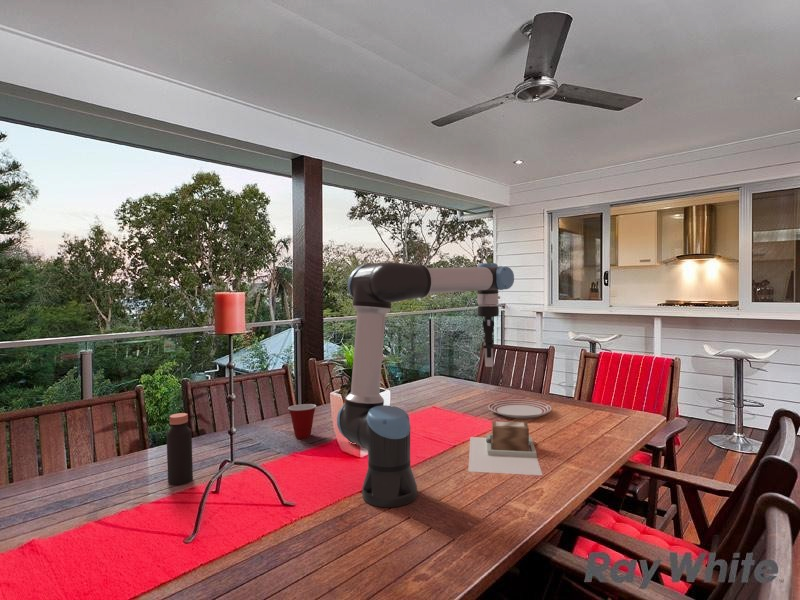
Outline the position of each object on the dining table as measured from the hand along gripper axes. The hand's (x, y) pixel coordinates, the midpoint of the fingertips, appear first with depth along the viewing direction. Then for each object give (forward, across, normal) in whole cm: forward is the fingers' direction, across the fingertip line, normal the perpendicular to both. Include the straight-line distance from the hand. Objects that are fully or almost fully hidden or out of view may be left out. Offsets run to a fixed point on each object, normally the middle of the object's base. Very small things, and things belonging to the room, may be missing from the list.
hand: (488, 363), depth 167 cm
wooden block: (+28, -7, -7) cm, 30 cm away
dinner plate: (+29, +39, -14) cm, 51 cm away
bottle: (+29, -48, +92) cm, 108 cm away
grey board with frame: (+29, -14, -4) cm, 32 cm away
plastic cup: (+29, -4, +71) cm, 77 cm away
